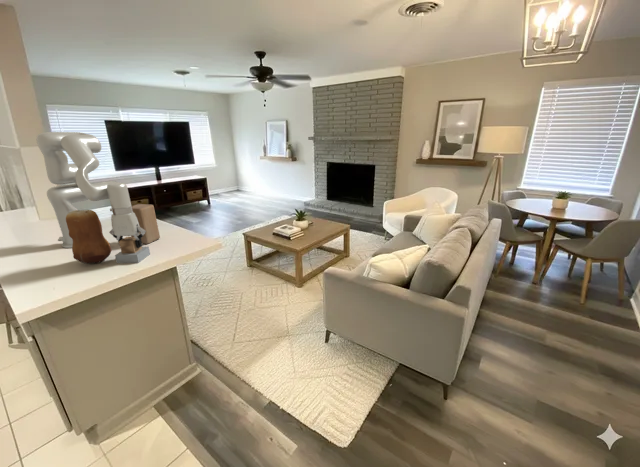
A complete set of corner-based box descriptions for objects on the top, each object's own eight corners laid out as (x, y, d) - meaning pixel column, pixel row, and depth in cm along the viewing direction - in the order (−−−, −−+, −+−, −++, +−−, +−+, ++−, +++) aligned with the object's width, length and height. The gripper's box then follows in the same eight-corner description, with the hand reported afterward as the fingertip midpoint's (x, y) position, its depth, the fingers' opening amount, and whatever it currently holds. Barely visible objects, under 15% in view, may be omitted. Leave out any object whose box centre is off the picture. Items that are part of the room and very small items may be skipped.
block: (147, 244, 155) (139, 208, 148) (132, 243, 156) (123, 207, 150) (161, 238, 164) (154, 204, 157) (146, 237, 166) (138, 203, 159)
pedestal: (116, 263, 133) (114, 255, 131) (130, 254, 142) (128, 247, 141) (138, 262, 133) (136, 254, 132) (150, 254, 142) (148, 246, 141)
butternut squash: (104, 254, 143) (91, 205, 135) (119, 259, 137) (105, 208, 128) (71, 264, 132) (54, 211, 123) (85, 271, 125) (67, 215, 117)
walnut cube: (121, 253, 133) (118, 241, 131) (129, 248, 139) (126, 236, 137) (134, 253, 134) (131, 241, 132) (142, 248, 139) (139, 236, 137)
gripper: (97, 213, 126) (107, 250, 132) (137, 212, 126) (145, 250, 132) (108, 209, 133) (118, 244, 139) (146, 208, 134) (154, 244, 139)
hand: (131, 247), depth 136 cm, fingers open, 7 cm apart
